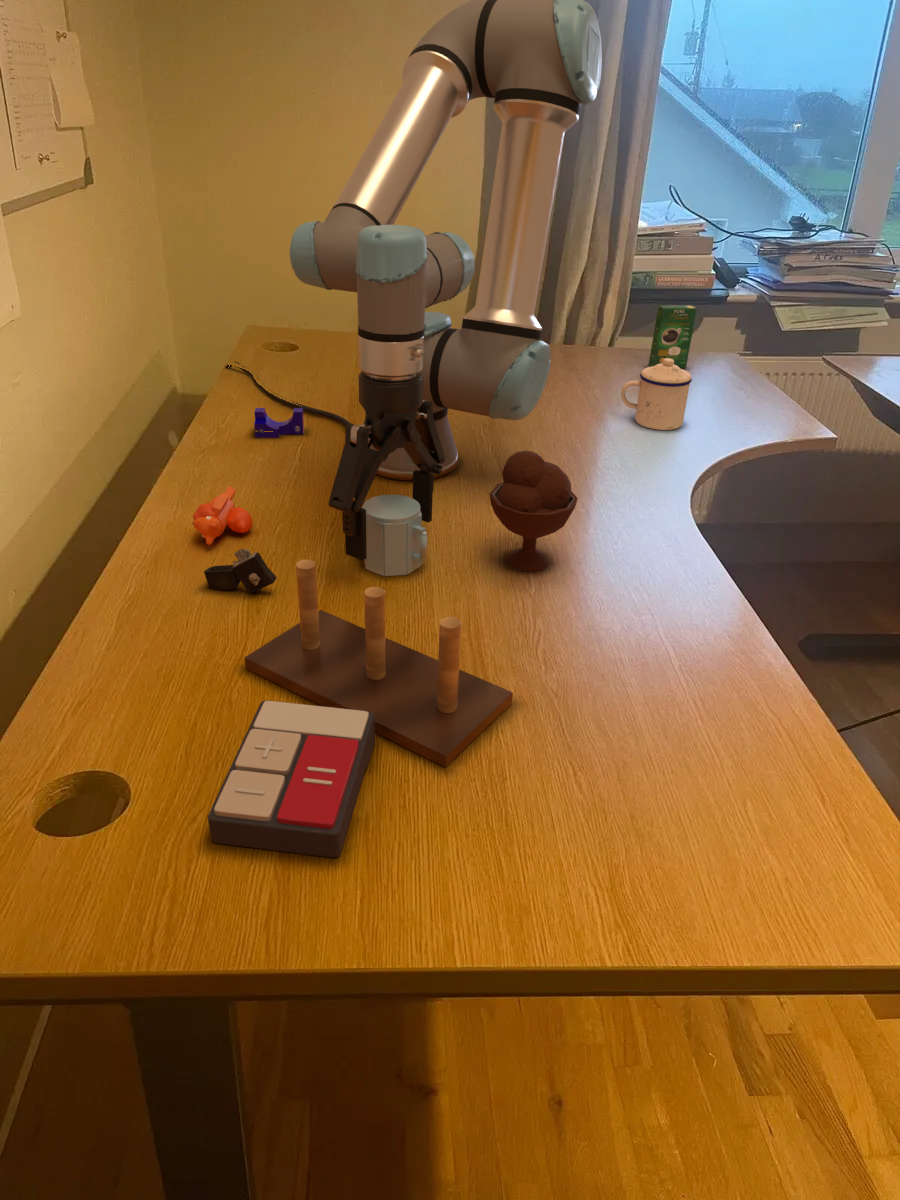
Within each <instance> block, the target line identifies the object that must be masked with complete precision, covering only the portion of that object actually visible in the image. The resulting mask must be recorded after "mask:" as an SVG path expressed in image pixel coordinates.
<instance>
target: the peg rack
mask: <svg viewBox="0 0 900 1200" xmlns="http://www.w3.org/2000/svg"><path fill="white" fill-rule="evenodd" d="M295 569H296V570H295V571H296V586H297V598H298V599H297V600H298V612H299V613H298V615H299V623H297V624H295V625H294V626H292V627H291V628H289V629H287V630H286V631H284V632H282V633H281V634H279V635H278V636H276V637H274V638H273V639H272V640H269V641H268V642H267V643H265V644H263V645H262V646H260V647H259V648H257V649H256V650H254V651H252V652H251V653H250V654H248V655H246V656H245V657H244V667H245V669H246V670H247V671H250V672H252V673H253V674H256V675H258V676H260V677H262V678H264V679H266V680H268V681H270V682H272V683H274V684H275V685H277V686H280V687H282V688H283V689H285V690H287V691H290V692H291V693H293V694H295V695H298V696H300V697H301V698H304V699H306V700H307V701H309V702H312V703H314V704H316V705H317V706H324V707H333V708H343V709H352V710H361V711H370V712H373V713H374V719H375V735H378V736H380V737H382V738H383V739H386V740H388V741H390V742H391V743H394V744H396V745H398V746H400V747H402V748H404V749H406V750H408V751H410V752H412V753H414V754H416V755H418V756H421V757H422V758H424V759H427V760H429V761H431V762H432V763H435V764H437V765H438V766H440V767H442V768H447V767H448V766H449V765H450V764H451V763H452V762H453V761H454V760H455V759H456V758H457V757H459V755H460V754H462V752H463V751H464V750H465V749H466V748H468V747H469V746H470V745H471V744H472V743H473V742H474V741H475V740H476V739H477V738H478V737H479V736H480V735H481V734H483V732H484V731H485V730H486V729H487V728H489V726H491V725H492V723H494V722H495V721H496V720H497V719H498V718H499V717H500V716H501V715H502V714H503V713H504V712H505V711H506V710H507V709H508V708H509V707H511V706H512V705H513V698H514V697H513V696H514V692H513V691H511V690H508V689H506V688H504V687H501V686H499V685H497V684H494V683H493V682H490V681H487V680H485V679H482V678H481V677H478V676H475V675H473V674H471V673H469V672H466V671H464V670H462V669H460V654H461V653H460V652H461V632H462V631H461V629H462V622H461V620H460V619H459V618H458V617H456V616H444V617H442V618H441V619H440V620H439V623H438V624H439V626H438V627H439V628H438V659H436V658H434V657H433V656H432V657H431V656H429V655H427V654H424V653H422V652H420V651H418V650H416V649H413V648H411V647H408V646H406V645H403V644H401V643H399V642H397V641H394V640H392V639H390V638H388V637H386V591H385V589H383V588H382V587H380V586H370V587H367V588H365V590H364V591H363V593H364V594H363V595H364V596H363V597H364V598H363V599H364V600H363V601H364V627H363V626H362V627H361V626H359V625H357V624H354V623H353V622H351V621H347V620H345V619H343V618H341V617H339V616H336V615H334V614H332V613H329V612H327V611H324V610H322V609H319V600H318V599H319V598H318V596H319V595H318V579H317V563H316V561H315V560H311V559H301V560H299V561H297V562H296V563H295Z"/></svg>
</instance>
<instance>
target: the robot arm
mask: <svg viewBox="0 0 900 1200" xmlns="http://www.w3.org/2000/svg"><path fill="white" fill-rule="evenodd" d="M602 50H603V49H602V36H601V30H600V24H599V20H598V17H597V14H596V12H595V9H594V7H592V5H591V4H590V3H588V2H587V1H586V0H469V1H467V2H464V3H462V4H460V5H458V6H457V7H455V8H453V9H452V10H450V11H449V12H447V13H446V14H445V15H444V16H443V17H441V18H440V19H439V20H438V21H436V22H435V23H434V24H433V25H432V26H431V28H429V29H428V30H427V31H426V32H425V33H424V35H423V36H422V37H421V38H420V39H419V41H418V42H417V44H416V45H415V46H414V47H413V49H412V51H411V52H410V54H409V56H408V58H407V60H406V61H405V62H404V65H403V68H402V73H401V75H402V77H401V78H402V83H401V86H400V88H399V90H398V91H397V93H396V94H395V96H394V99H393V100H392V102H391V104H390V105H389V107H388V108H387V110H386V113H384V116H383V118H382V120H381V121H380V123H379V125H378V127H377V128H376V130H375V132H374V134H373V135H372V137H371V139H370V141H368V144H367V146H366V148H365V150H364V152H363V153H362V155H361V157H360V158H359V160H358V162H357V164H356V166H355V167H354V169H353V170H352V172H351V174H350V176H349V178H348V180H347V181H346V183H345V185H344V187H343V188H342V191H341V192H340V194H339V195H338V197H337V199H336V200H335V203H333V206H332V208H331V209H330V211H329V212H328V214H327V216H326V218H325V220H324V221H323V222H321V221H319V220H315V221H306V222H304V223H301V224H299V225H298V226H297V227H296V229H295V230H294V231H293V233H292V236H291V240H290V245H289V261H290V266H291V269H292V270H293V272H294V274H295V276H296V278H297V279H298V280H299V281H300V282H301V283H303V284H305V285H308V286H312V287H317V288H322V289H325V290H327V291H332V290H336V291H342V292H349V293H356V297H357V299H356V300H357V323H358V324H357V367H358V369H359V370H360V373H359V374H358V376H357V377H358V378H357V379H358V402H359V404H360V406H361V407H362V408H363V410H364V412H365V416H364V420H363V423H362V424H358V425H357V424H354V423H352V422H350V421H348V420H347V419H346V418H344V417H342V416H340V415H338V414H336V413H334V412H330V411H326V410H322V409H318V408H316V407H315V408H314V407H311V406H307V405H304V404H301V403H299V404H298V402H296V404H298V405H296V404H293V403H290V402H287V401H285V400H283V399H280V398H278V397H276V396H274V395H273V394H271V393H269V392H268V391H266V390H265V389H264V388H263V387H262V386H261V385H259V384H258V383H257V382H256V380H255V379H254V377H253V375H252V374H251V373H250V372H249V371H247V370H245V369H242V368H239V367H236V366H234V367H235V368H238V369H240V371H242V372H244V373H245V374H247V375H249V376H250V377H251V379H252V380H253V382H254V383H255V385H256V386H257V387H258V388H260V389H261V391H262V392H264V394H266V395H267V396H269V397H270V398H272V399H274V400H275V401H277V402H280V403H282V404H284V405H286V406H289V407H292V408H293V409H294V408H303V412H305V413H309V414H313V415H318V416H322V417H325V418H329V419H331V420H334V421H337V422H338V423H340V424H342V425H344V426H345V435H344V445H343V448H342V453H341V456H340V460H339V463H338V467H337V470H336V474H335V478H334V481H333V485H332V488H331V492H330V495H329V499H328V507H329V508H331V509H335V510H337V511H341V513H342V514H341V515H342V517H341V519H342V532H343V534H344V546H345V547H344V548H345V555H346V556H349V557H352V558H354V559H357V560H360V561H362V562H364V560H365V559H366V558H367V550H366V509H363V505H364V503H365V500H366V498H367V496H368V493H369V491H370V489H371V487H372V484H373V483H374V480H375V478H376V475H377V476H380V477H383V478H386V479H392V480H397V481H412V494H411V495H412V497H411V498H413V499H415V500H416V501H417V502H418V503H419V504H420V511H421V514H422V522H425V523H430V522H432V521H433V497H434V495H433V493H434V489H435V483H434V482H435V479H436V478H441V477H443V476H446V475H448V474H450V473H451V472H453V471H454V470H455V469H456V468H457V466H458V459H459V454H458V448H457V444H456V443H455V440H454V439H455V438H454V435H453V430H452V427H451V424H450V420H449V414H448V413H449V410H453V411H458V412H464V413H469V414H473V415H478V416H483V417H489V418H490V419H492V420H498V419H501V420H507V421H520V420H523V419H524V418H526V417H528V416H529V415H530V414H531V413H532V412H533V410H534V409H535V408H536V406H537V404H538V403H539V401H540V399H541V397H542V395H543V392H544V390H545V387H546V384H547V382H548V378H549V374H550V370H551V364H552V362H551V357H552V353H551V352H552V350H551V347H550V345H549V344H548V343H547V342H545V341H544V340H542V333H543V327H542V326H541V324H540V322H539V321H538V320H537V318H536V316H535V312H536V306H537V299H538V294H539V288H540V283H541V282H540V281H541V276H542V271H543V263H544V258H545V253H546V246H547V241H548V240H547V239H548V234H549V228H550V222H551V216H552V211H553V204H554V199H555V193H556V192H555V191H556V187H557V180H558V175H559V167H560V162H561V157H562V150H563V145H564V139H565V134H566V132H567V131H568V130H569V129H571V128H572V127H573V126H574V125H575V124H577V123H578V121H579V117H580V110H581V106H582V105H583V106H584V105H588V104H590V103H592V102H594V101H595V100H596V98H597V93H598V91H599V89H600V85H601V78H602V68H603V67H602V65H603V64H602V63H603V52H602ZM479 98H489V99H494V100H493V101H494V102H493V111H494V112H495V114H496V115H497V117H498V118H499V120H500V121H501V124H502V125H501V129H500V137H499V144H498V150H497V157H496V162H495V163H496V164H495V170H494V177H493V183H492V191H491V199H490V204H489V211H488V218H487V225H486V230H485V231H486V232H485V237H484V238H485V239H484V243H483V252H482V258H481V264H480V272H479V279H478V286H477V293H476V298H475V305H474V306H473V308H471V309H470V310H469V311H468V312H467V313H466V314H464V315H463V316H462V320H461V321H462V322H461V327H460V329H458V328H456V329H454V328H451V325H452V319H451V316H450V315H449V314H446V313H444V312H437V311H426V309H427V308H429V307H432V306H435V305H438V304H440V303H443V302H447V301H451V300H452V299H454V298H455V297H457V296H458V295H459V294H461V293H462V292H464V291H465V290H466V289H467V288H468V287H469V286H470V284H471V282H472V280H473V278H474V275H475V268H476V262H475V257H474V253H473V250H472V249H471V247H470V245H469V244H468V242H467V241H466V240H465V239H464V238H463V237H461V235H459V234H456V233H453V232H450V231H448V232H447V231H444V232H440V231H433V233H430V234H425V233H424V231H423V230H422V229H421V228H418V227H415V226H410V225H403V224H395V222H396V221H397V219H398V217H399V215H400V213H401V212H402V209H403V208H404V206H405V204H406V202H407V200H408V198H409V196H410V194H411V192H412V191H413V189H414V187H415V185H416V184H417V182H418V180H419V178H420V176H421V174H422V172H423V170H424V168H425V167H426V165H427V163H428V161H429V160H430V158H431V156H432V153H433V152H434V150H435V148H436V146H437V144H438V143H439V140H440V139H441V137H442V135H443V133H444V132H445V129H446V128H447V126H448V124H449V122H450V120H451V118H455V117H457V116H459V115H460V114H461V113H462V112H463V111H464V110H465V108H466V107H467V104H468V103H469V101H471V100H475V99H479ZM452 326H453V325H452ZM234 362H235V363H238V364H241V363H240V362H238V361H234ZM226 365H227V364H226ZM226 365H225V367H226V368H225V369H227V368H228V367H229V365H227V366H226ZM232 367H233V366H232V365H230V368H229V369H231V368H232ZM257 378H258V379H259V377H258V376H257ZM293 402H294V403H295V401H293ZM299 405H300V406H299ZM301 406H302V407H301Z"/></svg>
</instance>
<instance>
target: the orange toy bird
mask: <svg viewBox="0 0 900 1200" xmlns="http://www.w3.org/2000/svg"><path fill="white" fill-rule="evenodd" d="M236 492H237V489H236V488H234V487H231V486H228V487H227V488H226V489H225V491H224V493H223V492H221V493H220V494H219V495H218V496H215V497H214V498H212V500H211V502H207V503H202V504H200V505H198V508H196V510H195V512H194V513H193V514H192V518H193V522H192V525H193V527H194V529H196V530H197V531H198V532H199V534H201V537H202V538H203V539H204V540H205V543H206V544H207V545H208V546H211V545H212V544H213V543H214V541H215V539H216V538H218V537H220V536H221V535H223V533H224V531H225V529H226V528H227V527H228V528H229V529H230V530H231V531H232V532H235V533H239V534H246V533H248V532H249V531H250V530H251V529H252V527H253V518H252V515H251V514H250V512H248V510H246V509H245V508H243V507H240V506H235V503H234V502H233V498H234V497H235V495H236Z"/></svg>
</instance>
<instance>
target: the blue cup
mask: <svg viewBox="0 0 900 1200" xmlns="http://www.w3.org/2000/svg"><path fill="white" fill-rule="evenodd" d="M362 508H363V509H366V550H367V558H366V559H365V560H363V564H364V569H365V570H366V571H368V572H372V573H375V574H376V575H379V576H382V577H395V576H396V577H397V576H407V575H409V574H411V573H413V572H414V571H415V570H418V569H419V568H420V567H421V566H422V564H424V563H425V562H426V561H427V559H428V532H427V531H426V527H424V526H422V525H423V523H422V522H423V521H422V514H421V511H420V504H419V503H418V502H417V501H416V500H415V499H413V498H412V497H410V496H407V495H403V494H393V493H391V494H382V495H376V496H373V497H370V498H369V499H367V500H366V501H364V503H363V505H362Z"/></svg>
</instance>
